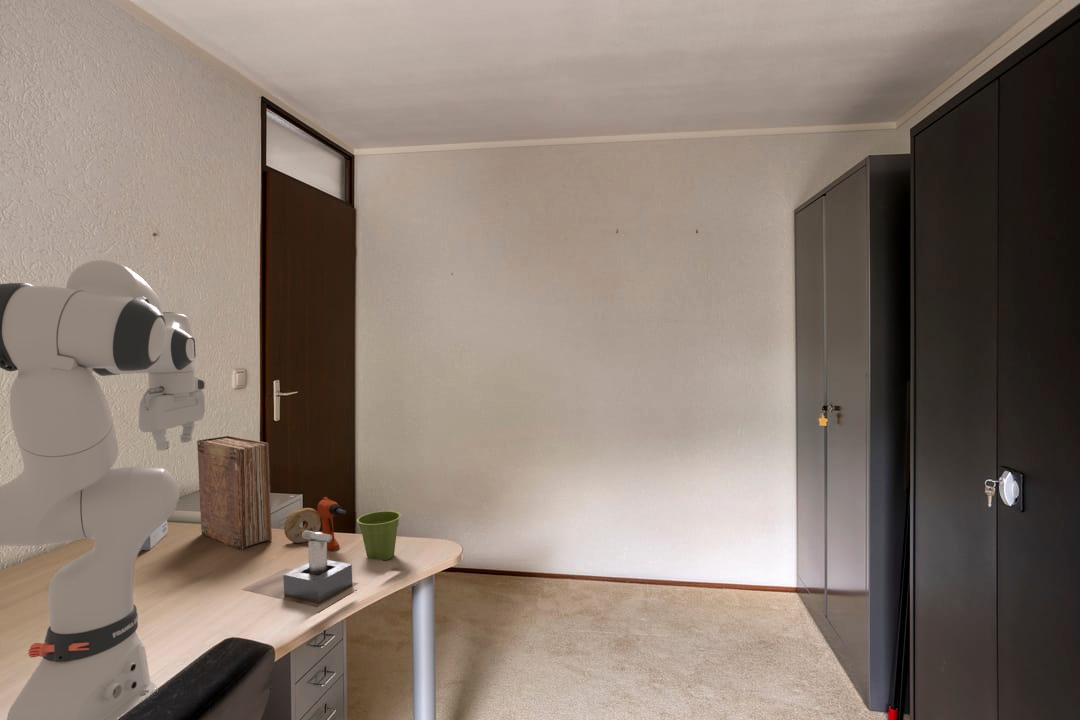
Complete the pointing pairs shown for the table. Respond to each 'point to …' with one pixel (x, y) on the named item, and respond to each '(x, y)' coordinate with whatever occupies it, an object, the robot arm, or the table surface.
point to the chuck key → (317, 551)
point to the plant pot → (379, 533)
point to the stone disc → (296, 518)
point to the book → (234, 490)
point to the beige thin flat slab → (276, 588)
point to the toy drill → (329, 519)
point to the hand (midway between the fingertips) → (175, 445)
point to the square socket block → (317, 582)
